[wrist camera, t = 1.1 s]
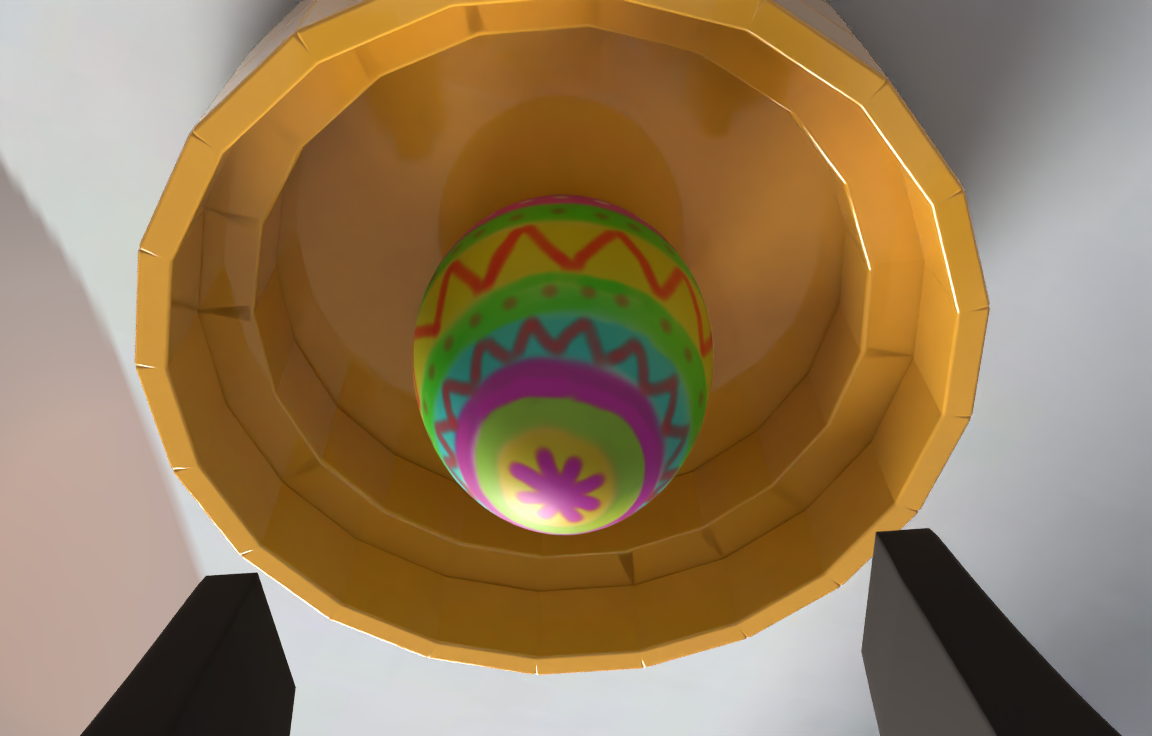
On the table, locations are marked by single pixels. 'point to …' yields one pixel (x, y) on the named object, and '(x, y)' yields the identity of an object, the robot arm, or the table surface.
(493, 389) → the egg
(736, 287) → the bowl
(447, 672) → the table surface
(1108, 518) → the table surface
